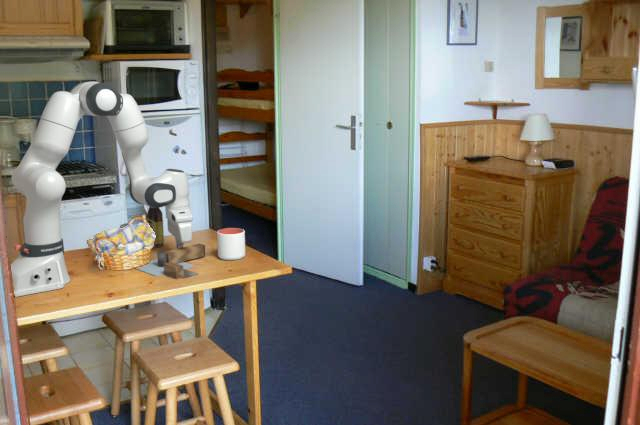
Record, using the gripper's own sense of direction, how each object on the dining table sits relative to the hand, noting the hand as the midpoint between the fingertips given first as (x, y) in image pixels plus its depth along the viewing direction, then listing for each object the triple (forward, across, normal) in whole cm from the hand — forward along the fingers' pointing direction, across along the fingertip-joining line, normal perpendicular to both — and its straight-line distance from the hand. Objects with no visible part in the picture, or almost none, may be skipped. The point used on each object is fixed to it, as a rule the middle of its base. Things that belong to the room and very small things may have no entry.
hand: (180, 248), depth 261 cm
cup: (+3, +11, +16) cm, 20 cm away
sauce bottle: (+3, -18, -5) cm, 19 cm away
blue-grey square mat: (+3, +10, -9) cm, 14 cm away
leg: (+2, +8, -2) cm, 8 cm away
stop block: (+3, +22, -6) cm, 23 cm away
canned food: (+3, -12, -15) cm, 20 cm away
